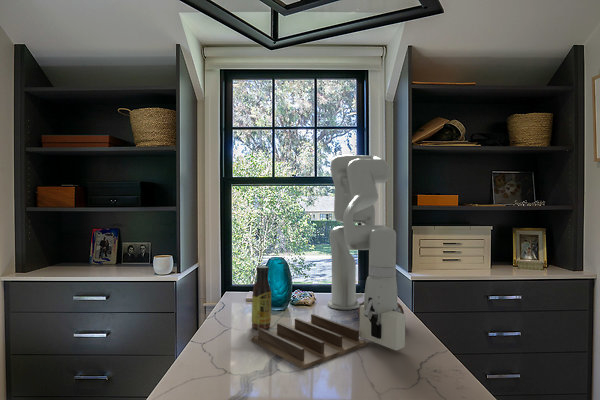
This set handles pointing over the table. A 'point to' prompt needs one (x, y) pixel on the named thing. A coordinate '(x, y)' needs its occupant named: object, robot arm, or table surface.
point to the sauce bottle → (261, 300)
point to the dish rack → (310, 341)
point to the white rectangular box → (385, 329)
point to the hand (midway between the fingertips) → (381, 334)
